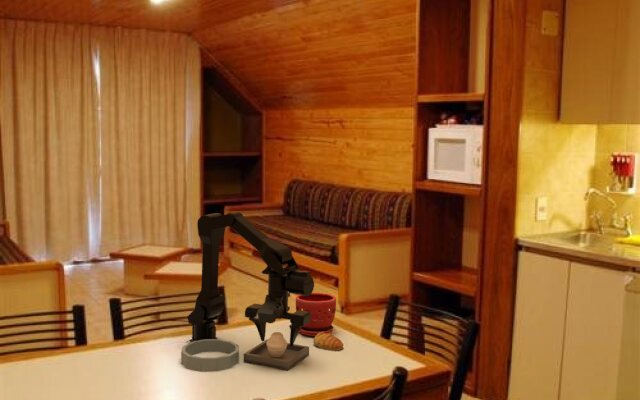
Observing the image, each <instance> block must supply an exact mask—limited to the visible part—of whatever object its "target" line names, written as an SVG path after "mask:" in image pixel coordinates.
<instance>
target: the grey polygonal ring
mask: <svg viewBox="0 0 640 400" xmlns="http://www.w3.org/2000/svg"><path fill="white" fill-rule="evenodd" d="M209 352H210V353H224V354H226V355H221V356H216V357H215V356H214V357H212V356H211V357H210V356H209V357H208V356H207V357H201V356H196V355H197V354H202V353H209ZM180 358H181V359H180V360H181V361H180V364H181V365H182V366H183V367H185V368H187V369H188V370H192V371H193V370H194V371H197V372H198V371H199V372H219V371H223V370H229V369H232V368H233V367H235V366H236V365H238V364H239V362H240V345H239V344H237V343H236V342H234V341H233V340H232V341H231V340H226V339H221V338H218V339H204V340H199V341H193V342H188V343H187V344H184V345H182V347H181V352H180Z"/></svg>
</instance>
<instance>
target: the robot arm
mask: <svg viewBox="0 0 640 400" xmlns="http://www.w3.org/2000/svg"><path fill="white" fill-rule="evenodd" d="M196 223H197V225H196V226H197V234H198V237H199V239H200V241H201V243H202V253H201V254H202V256H201V258H202V260H201V281H200V282H201V287H200V291H199V293H198V295H197V297H196V299H195V304H194V310H192V311H191V312H190V313H189V314H188V315H187V317H186V318H187V322H188V324H191V331H192V332H191V334H192V337H191V339H189V341H188V343H190V342H193V341H199V340H204V339H219V338H218V337H217V326H216V321H215V320H219V317H220V315H221V314H222V312H223V309H224V308H225V295H224V294H221V293H220V291H219V289H218V288H219V266H220V265H219V263H220V261H219V259H220V258H219V257H220V242H221V241H222V240H223V237H224V235H225V233H226V228H227V227H229V228H231V229H232V230H233V231H234V232H236V233H237V234H238V235H239V236H241V238H242V239H244V240H245V241H246V242H247V243H249V245H251V246H252V247H253V248H255V250H256V251H258V254H259V257H260V258H261V260H262V261H263V263H265V264H266V267H265V269H263V270H262V271H261V274H263V275H268V277H267V279H268V281H267V283H268V284H267V285H268V287H267V294H266V295H265V298H264V299H265V300H264V303H261V304H260V303H253V304H250V305H249V306H246V308H245V310H244V317H245V318H248V320H249V321H251V322H252V323H253V324H254V325H255V327H256V329H257V331H258V335H259V339H260V341H261V342H264V341H265V340H266V330H267V329H266V327H267V323H268V324H273V323H275V321H276V320H277V319H278V320H281V319H284V320H289V322H290V323H291V324H289V326H288V327H289V329H290V332H289V334H290V335H289V343H290V346H291V347H292V346H293V344H295V342H296V339H297V336H298V335H299V333H300V329H301V327H302V326H304V325H306V324H307V323H309V322H310V321H311V315H310V313H309V312H307V311H303V310H302V311H300V310H298V311H296V310H295V311H294V312H289V311H290V310H291V308H290V306H288V305H289V297H291V294H293V295H297V296H298V295H303V296H310V295H311V293H314V288H315V281H314V278H313V276H312V275H311V271H310V270H300V267H299V265H298V263H297V261H296V259H295V258H294V256H293V254H292V253H293V251H292V250H291V248H290V247H288V246H287V245H285V244H284V243H282V242H279V241H277V240H274V239H271V238H270V237H268V236H267V235H266V234H265V233H264V232H262V231H261V229H259V228H258V227H256V226H255V225H254V224H253V223H252V222H250V221H249V220H248V219H247V218H246V217H245V216H244V215H243V213H242V212H239V211H233V212H229V213H226V214H221V213H220V212H218V213H216V212H215V213H210V214H205V215H201V216H200V217H199V218H198V219H197V222H196Z"/></svg>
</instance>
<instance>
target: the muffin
mask: <svg viewBox="0 0 640 400" xmlns="http://www.w3.org/2000/svg"><path fill="white" fill-rule="evenodd" d="M266 340H267V339H266ZM288 343H289V342H288V341H287V340H286V338H285V337H284V334H283V333H282V332H280V331H275V332H272V333H271V334H270V337H269V338H268V340H267V342H266V345H267V348H268V350H269V352H270V354H271V356H273V357H281V356H282V355H283V353H284V351H285V350H286V347H287V345H288Z"/></svg>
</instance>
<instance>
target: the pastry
mask: <svg viewBox="0 0 640 400" xmlns="http://www.w3.org/2000/svg"><path fill="white" fill-rule="evenodd" d="M313 344H314V345H315V347H318V348H319V349H321V350H327V351H337V352H338V351H340V350H341V349H343V347H344V343H343V342H342V340H341V339H339V337H336V336H335V335H334V334H331V333H330V334H329V333H328V334H325V333H323V332H320V333H318V334H317V335H316V336H314V339H313Z"/></svg>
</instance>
